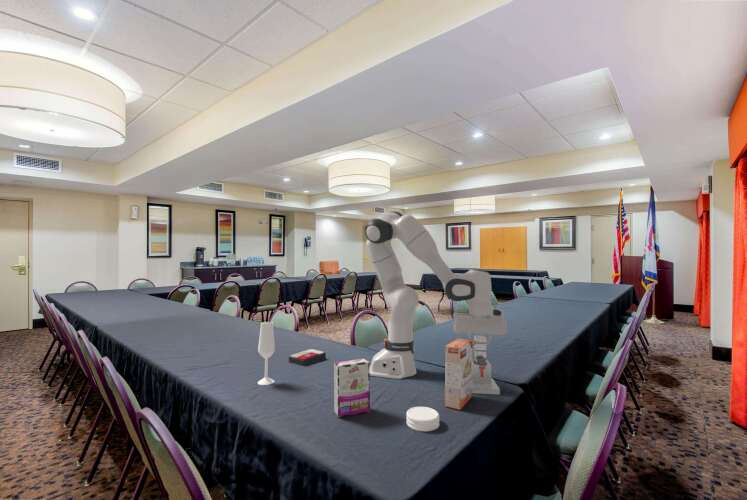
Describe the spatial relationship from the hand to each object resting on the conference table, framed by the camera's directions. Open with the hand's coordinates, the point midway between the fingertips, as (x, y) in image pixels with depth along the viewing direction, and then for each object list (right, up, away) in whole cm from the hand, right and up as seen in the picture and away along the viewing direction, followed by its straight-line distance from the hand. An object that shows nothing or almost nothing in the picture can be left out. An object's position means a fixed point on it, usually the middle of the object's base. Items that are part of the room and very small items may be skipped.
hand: (480, 345), depth 135 cm
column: (0, -17, -1) cm, 17 cm away
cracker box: (-12, -16, -14) cm, 25 cm away
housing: (0, -17, -1) cm, 17 cm away
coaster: (-27, -16, -30) cm, 44 cm away
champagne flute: (-86, -17, +5) cm, 88 cm away
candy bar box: (-49, -16, -23) cm, 56 cm away
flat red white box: (-75, -18, +36) cm, 85 cm away
